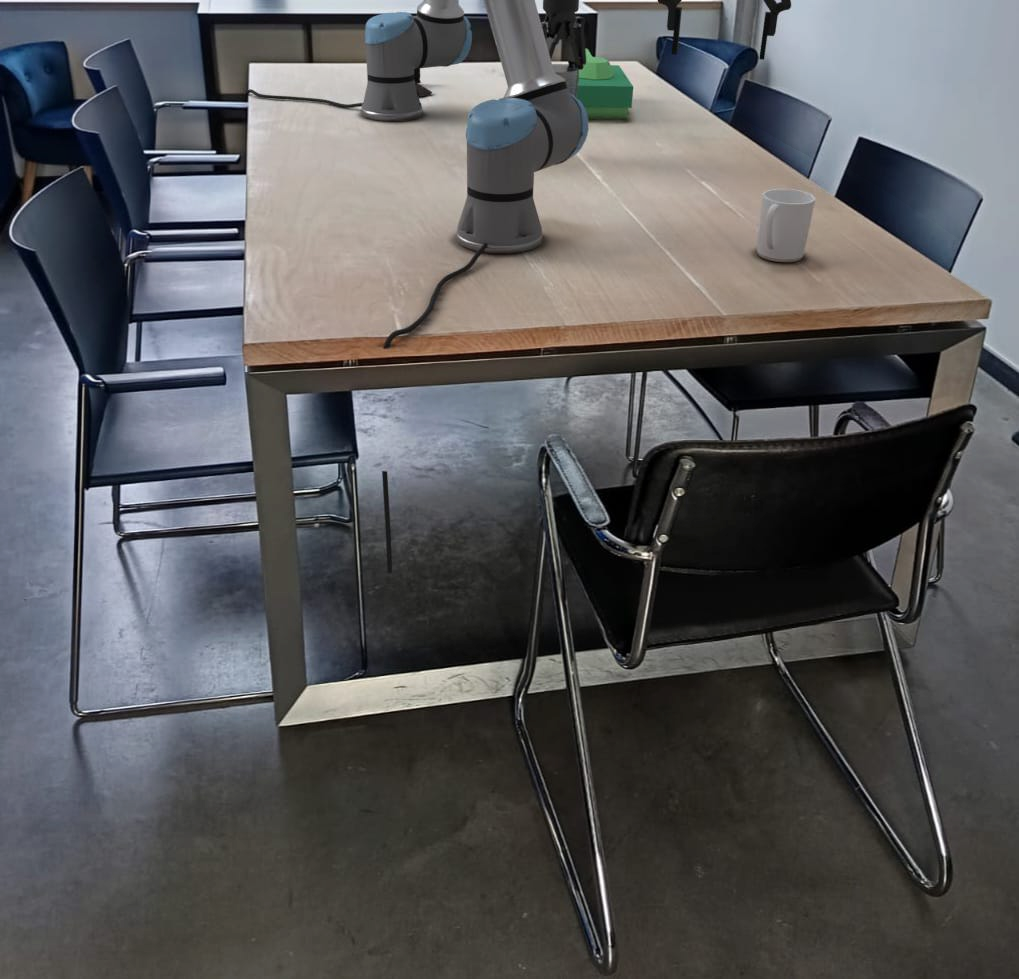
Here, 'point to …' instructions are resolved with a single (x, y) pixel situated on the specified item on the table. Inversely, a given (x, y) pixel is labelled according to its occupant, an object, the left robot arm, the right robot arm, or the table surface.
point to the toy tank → (604, 89)
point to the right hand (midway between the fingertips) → (717, 55)
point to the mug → (784, 224)
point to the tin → (568, 76)
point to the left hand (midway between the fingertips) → (556, 103)
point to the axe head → (420, 89)
